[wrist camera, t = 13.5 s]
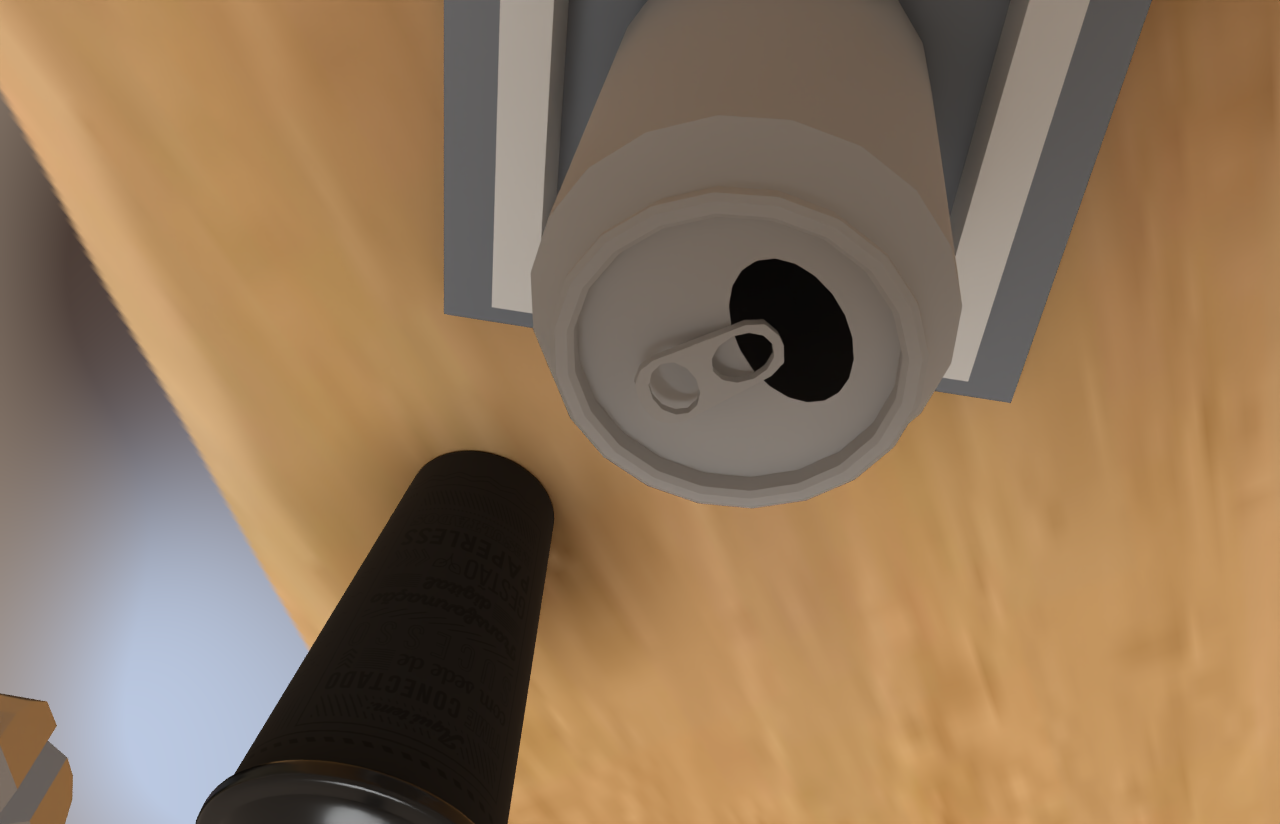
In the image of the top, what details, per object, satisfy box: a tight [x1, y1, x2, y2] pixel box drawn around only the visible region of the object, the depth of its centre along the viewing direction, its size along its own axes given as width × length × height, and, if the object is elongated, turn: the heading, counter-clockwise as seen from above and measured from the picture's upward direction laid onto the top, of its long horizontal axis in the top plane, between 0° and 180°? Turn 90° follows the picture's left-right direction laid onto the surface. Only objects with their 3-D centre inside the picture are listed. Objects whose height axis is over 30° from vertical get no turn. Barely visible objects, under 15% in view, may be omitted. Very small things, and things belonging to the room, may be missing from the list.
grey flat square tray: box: [444, 0, 1152, 403], centre depth 29 cm, size 16×16×3 cm
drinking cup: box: [196, 451, 554, 824], centre depth 32 cm, size 8×8×20 cm
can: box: [530, 0, 962, 508], centre depth 25 cm, size 8×8×12 cm
